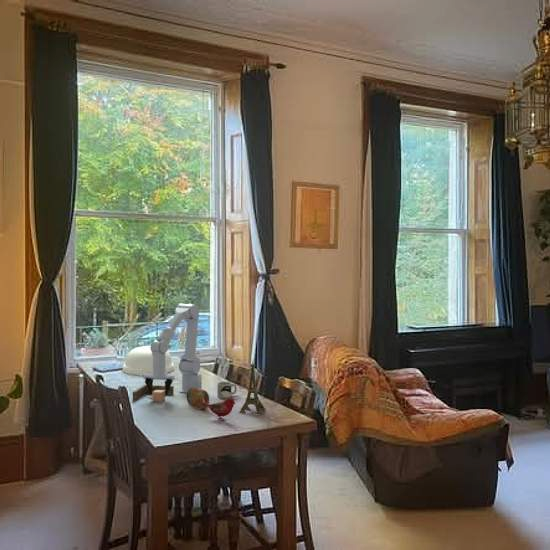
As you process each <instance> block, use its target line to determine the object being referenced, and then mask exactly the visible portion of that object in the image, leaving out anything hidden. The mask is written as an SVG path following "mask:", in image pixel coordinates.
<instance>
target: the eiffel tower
mask: <svg viewBox="0 0 550 550" xmlns="http://www.w3.org/2000/svg"><path fill="white" fill-rule="evenodd" d="M249 367H250V374H249V375H250V377H249V382H248V383H249V384H248V388H247V390H246V391H247V396H246V398H245V402H244V404H243V405H242V407H241V408H240V410H239V411H238V413H242V414H241V415H245V414H244V413H246V410H248V409H249V405H253V406H255V411H256V412H255V415H256V414H260V415H259V416H263V415H264V412H262V411H265V410H266V407H265V406H264V403H262V402H261V400H260V397H259V396H258V389H259V388H258V387H257V381H256V375H255V374H256V372H255V367H256V363H254V360H252V362H251V363H250V365H249ZM251 394H253V396H252V395H251ZM264 409H265V410H264Z"/></svg>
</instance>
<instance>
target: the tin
mask: <svg viewBox="0 0 550 550" xmlns="http://www.w3.org/2000/svg"><path fill="white" fill-rule="evenodd" d="M209 395H210V394H209V393H208V391H206V390H204V389H203V388H201V389H199V388H190V389H189V390H188V392H187V393H186V399H187V404H188V405H189V406H190V405H191V406H190V407H192V406H193V407H192V408H195V409H198V410H205V409H207V408H208V407H207V406H206V405H204V404H203V403H201V402H204V403H207V404H210V397H209Z"/></svg>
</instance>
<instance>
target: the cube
mask: <svg viewBox="0 0 550 550" xmlns="http://www.w3.org/2000/svg"><path fill="white" fill-rule="evenodd" d="M152 395H153V399H152V402H153V401H163V400H164V401H165V400H166V396H165V390H155V391H154V392H153V394H152ZM164 401H163V402H164Z"/></svg>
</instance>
